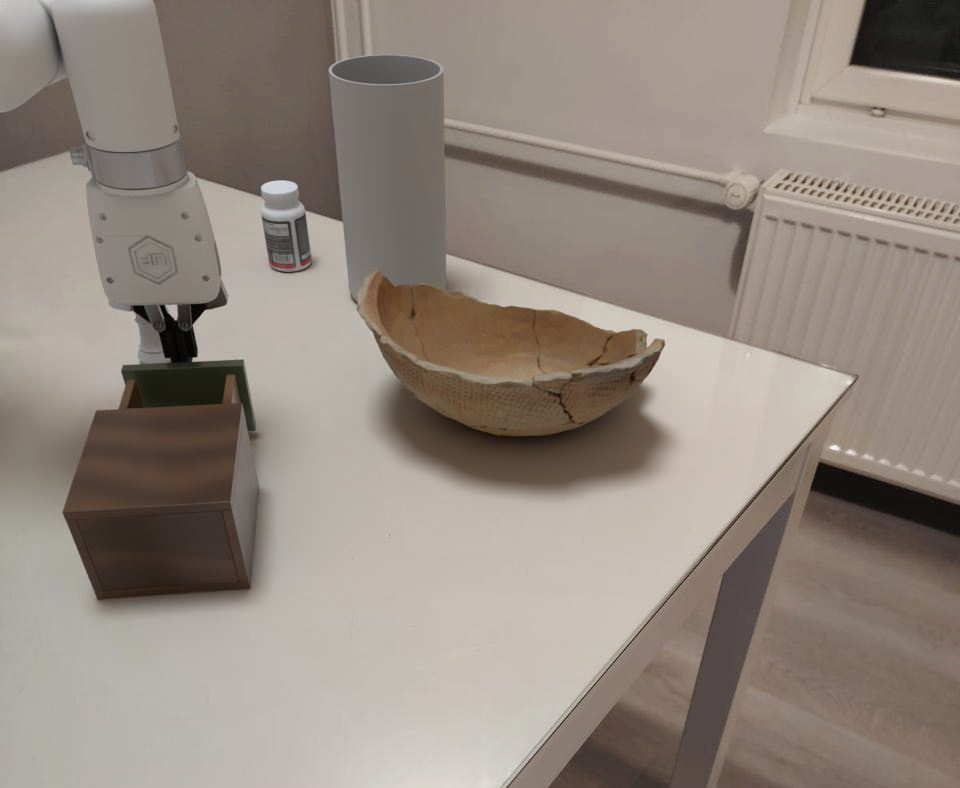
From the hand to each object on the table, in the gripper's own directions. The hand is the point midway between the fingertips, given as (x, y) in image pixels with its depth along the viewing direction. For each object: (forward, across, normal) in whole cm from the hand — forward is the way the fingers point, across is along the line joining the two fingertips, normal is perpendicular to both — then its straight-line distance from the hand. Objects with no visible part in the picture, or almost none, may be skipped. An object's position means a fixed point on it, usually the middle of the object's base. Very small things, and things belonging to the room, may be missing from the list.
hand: (183, 363), depth 88 cm
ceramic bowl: (+7, +32, 0) cm, 33 cm away
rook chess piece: (+8, -5, +13) cm, 16 cm away
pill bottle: (+7, +8, +39) cm, 41 cm away
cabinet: (+7, 0, -19) cm, 20 cm away
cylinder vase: (+7, +22, +29) cm, 38 cm away
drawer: (+6, 0, -6) cm, 9 cm away
